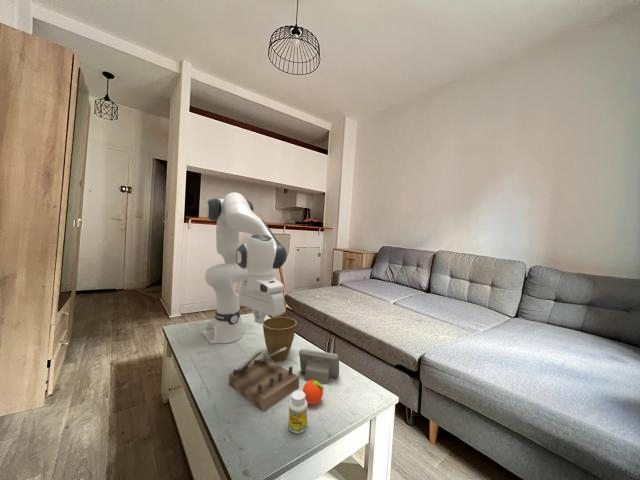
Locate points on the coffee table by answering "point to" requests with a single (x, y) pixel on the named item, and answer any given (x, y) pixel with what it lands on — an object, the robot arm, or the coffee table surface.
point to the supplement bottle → (298, 412)
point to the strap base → (264, 383)
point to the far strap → (272, 354)
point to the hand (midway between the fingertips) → (259, 322)
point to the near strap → (250, 360)
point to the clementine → (313, 391)
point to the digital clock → (319, 365)
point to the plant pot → (279, 336)
